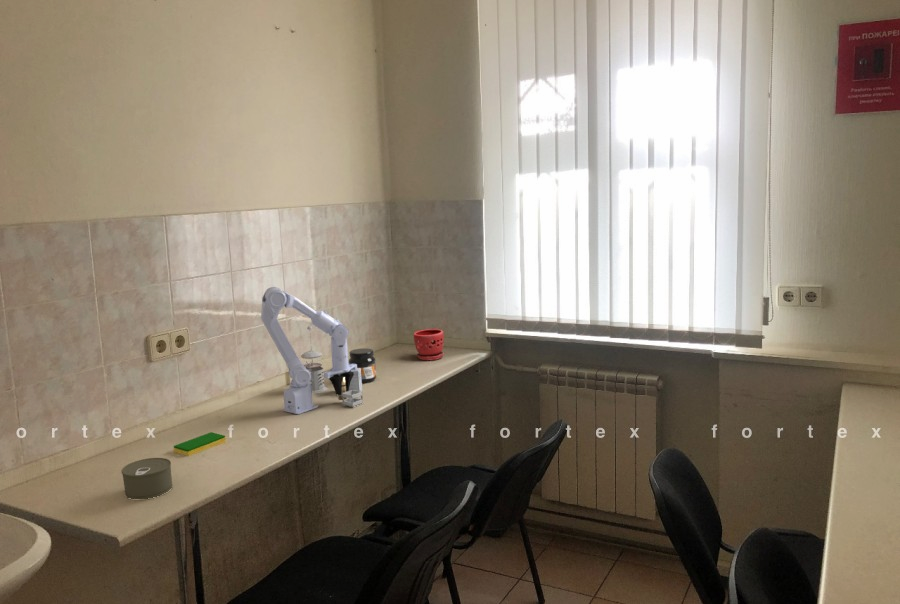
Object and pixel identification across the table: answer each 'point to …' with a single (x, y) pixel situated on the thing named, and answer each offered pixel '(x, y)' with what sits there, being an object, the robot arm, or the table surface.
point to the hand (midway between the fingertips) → (342, 393)
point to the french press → (314, 370)
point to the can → (147, 478)
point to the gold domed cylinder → (343, 388)
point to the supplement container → (364, 363)
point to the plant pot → (429, 344)
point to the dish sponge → (199, 443)
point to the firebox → (352, 398)
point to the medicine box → (356, 380)
